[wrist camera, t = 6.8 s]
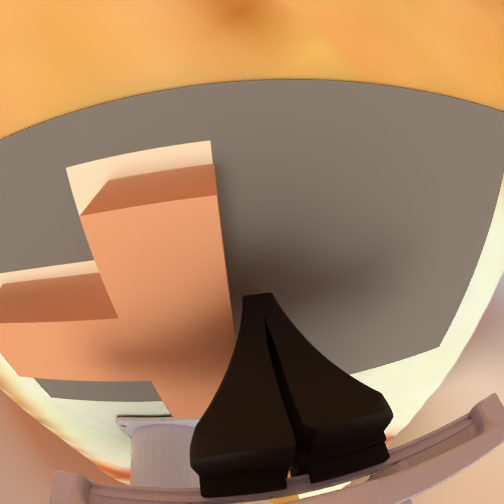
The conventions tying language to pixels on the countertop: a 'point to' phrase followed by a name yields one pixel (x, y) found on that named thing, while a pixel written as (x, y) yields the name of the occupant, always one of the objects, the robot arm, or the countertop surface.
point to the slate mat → (281, 203)
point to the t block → (135, 295)
